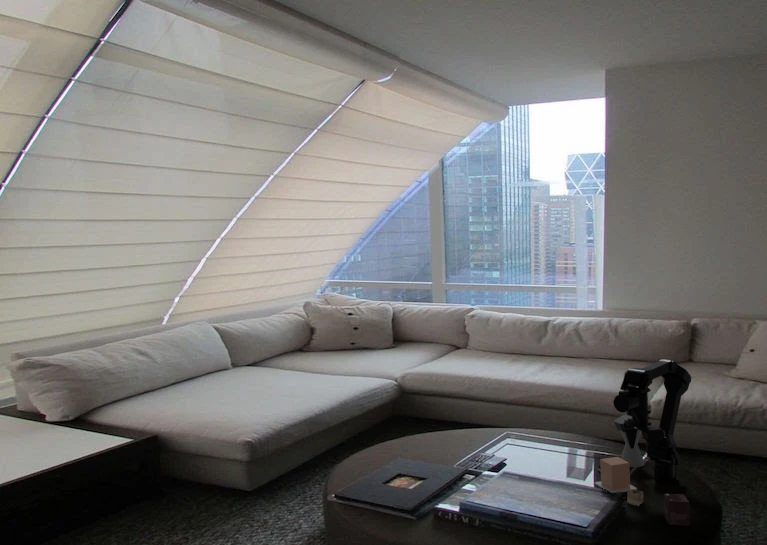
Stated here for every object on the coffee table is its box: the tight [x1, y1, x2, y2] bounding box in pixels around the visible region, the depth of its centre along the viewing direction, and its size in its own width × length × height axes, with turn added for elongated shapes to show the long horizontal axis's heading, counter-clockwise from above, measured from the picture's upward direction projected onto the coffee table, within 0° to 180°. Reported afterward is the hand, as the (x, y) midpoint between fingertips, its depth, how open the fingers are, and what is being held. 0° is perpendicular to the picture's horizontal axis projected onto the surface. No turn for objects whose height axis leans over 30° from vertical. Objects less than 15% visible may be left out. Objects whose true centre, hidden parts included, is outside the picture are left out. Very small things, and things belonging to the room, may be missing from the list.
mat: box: [593, 480, 638, 493], centre depth 226 cm, size 10×10×1 cm
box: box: [663, 493, 691, 526], centre depth 197 cm, size 6×6×7 cm
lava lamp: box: [620, 370, 645, 468], centre depth 247 cm, size 9×9×35 cm
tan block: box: [599, 456, 631, 490], centre depth 226 cm, size 7×7×8 cm
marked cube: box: [626, 489, 644, 507], centre depth 212 cm, size 4×4×4 cm
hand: (640, 452), depth 221 cm, fingers open, 9 cm apart
